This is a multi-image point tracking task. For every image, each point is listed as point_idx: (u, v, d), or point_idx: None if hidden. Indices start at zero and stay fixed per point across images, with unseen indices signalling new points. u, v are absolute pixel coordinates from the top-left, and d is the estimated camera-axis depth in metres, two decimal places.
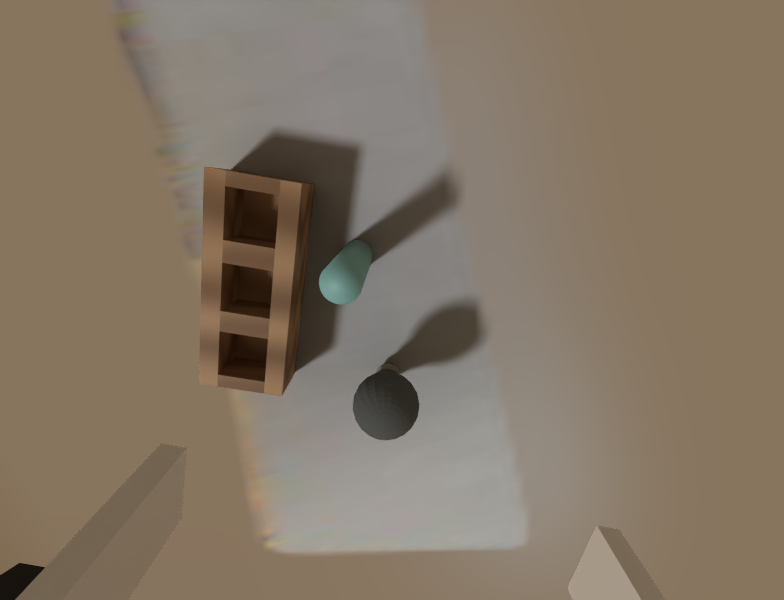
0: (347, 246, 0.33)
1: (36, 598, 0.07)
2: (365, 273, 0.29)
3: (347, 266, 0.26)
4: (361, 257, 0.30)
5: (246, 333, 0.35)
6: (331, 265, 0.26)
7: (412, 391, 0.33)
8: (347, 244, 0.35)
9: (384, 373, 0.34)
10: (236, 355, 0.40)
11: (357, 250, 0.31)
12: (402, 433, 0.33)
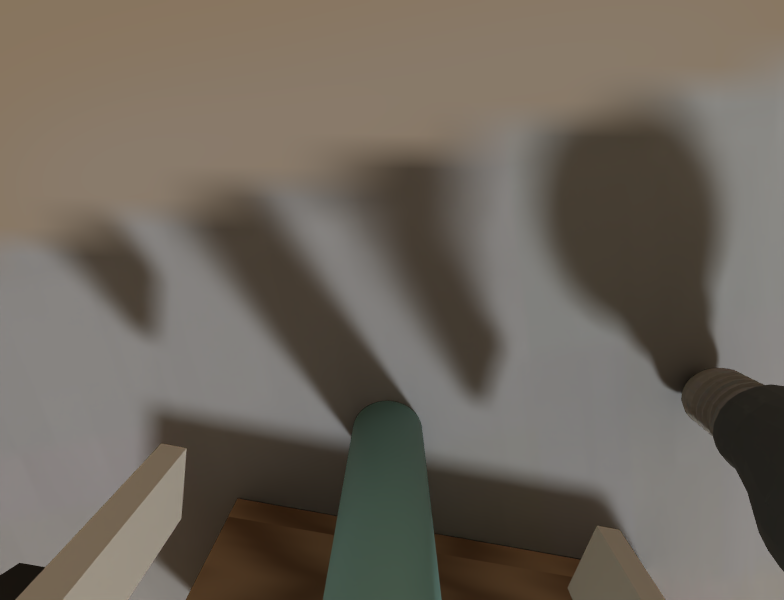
0: None
1: (36, 598, 0.07)
2: None
3: None
4: (338, 590, 0.09)
5: None
6: None
7: None
8: None
9: (781, 515, 0.09)
10: None
11: (334, 544, 0.10)
12: None
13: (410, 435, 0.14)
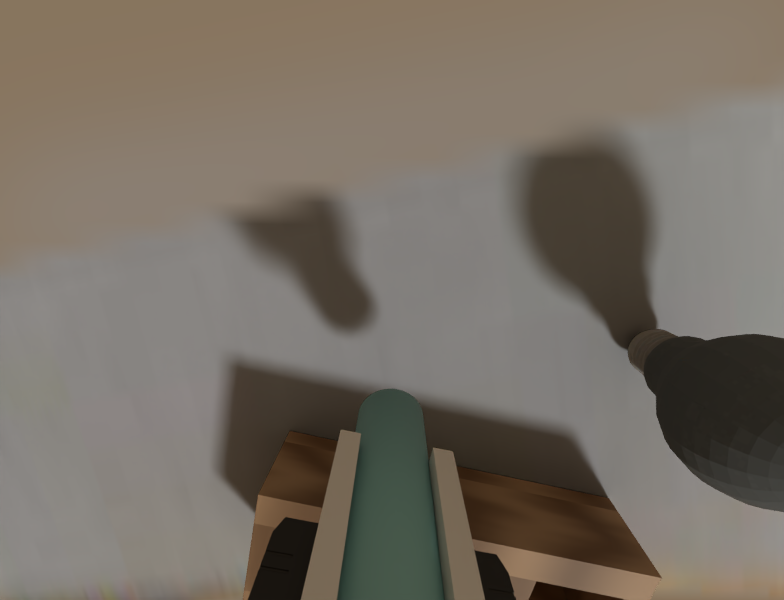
0: None
1: (328, 537, 0.09)
2: None
3: None
4: (347, 548, 0.10)
5: None
6: None
7: (744, 361, 0.12)
8: None
9: (666, 409, 0.14)
10: None
11: None
12: None
13: (412, 419, 0.15)
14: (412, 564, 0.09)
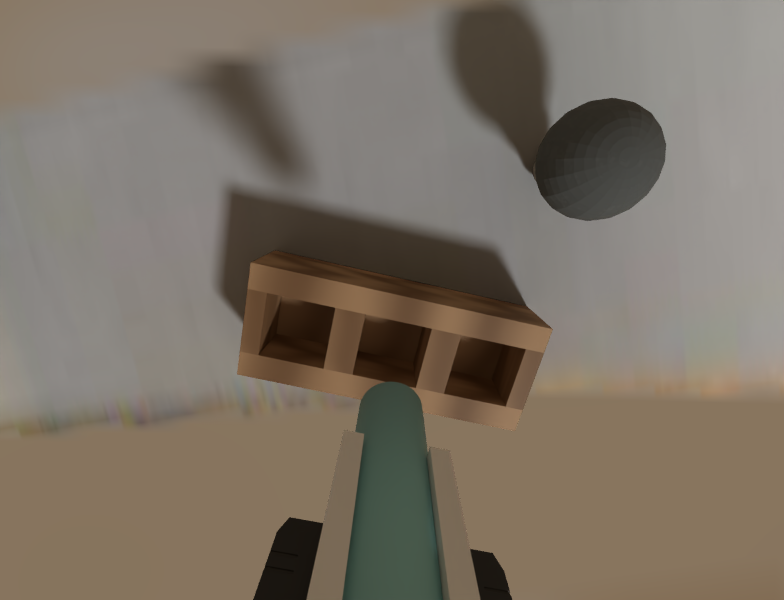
0: None
1: (333, 538, 0.09)
2: (384, 570, 0.09)
3: None
4: None
5: (450, 361, 0.25)
6: None
7: (577, 108, 0.19)
8: None
9: (536, 162, 0.20)
10: (490, 377, 0.30)
11: None
12: (657, 127, 0.17)
13: (411, 410, 0.16)
14: (411, 540, 0.10)
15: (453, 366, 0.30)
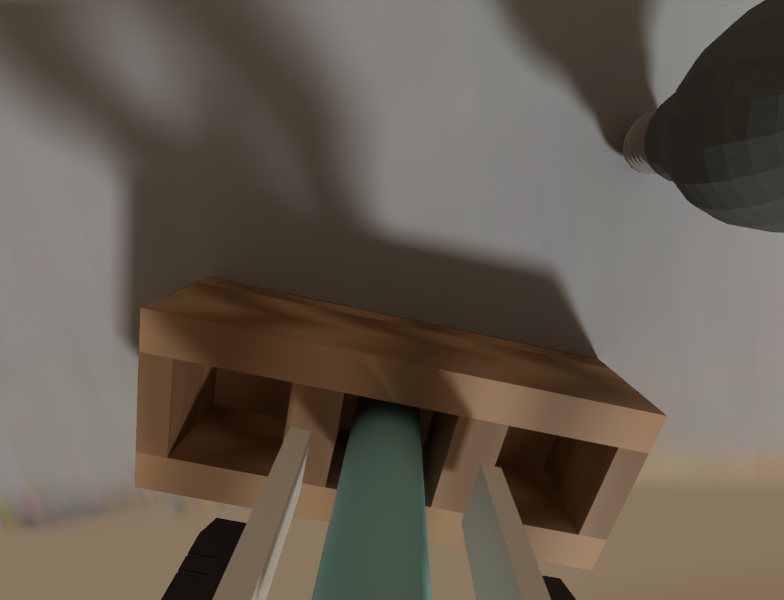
0: None
1: (253, 540, 0.09)
2: (372, 533, 0.10)
3: None
4: (344, 497, 0.11)
5: None
6: None
7: None
8: None
9: (679, 116, 0.10)
10: (541, 465, 0.20)
11: (341, 473, 0.13)
12: None
13: None
14: (398, 509, 0.11)
15: None
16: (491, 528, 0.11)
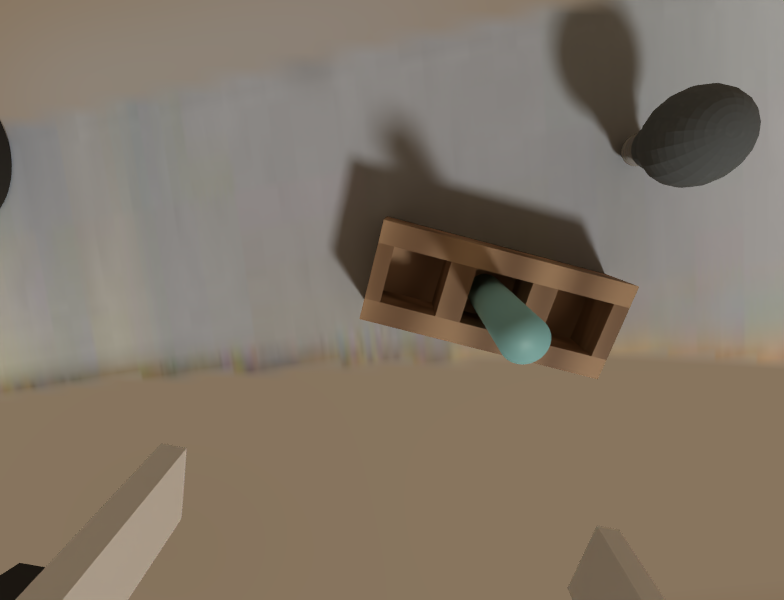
0: (474, 306, 0.29)
1: (36, 598, 0.07)
2: (513, 301, 0.24)
3: (505, 329, 0.21)
4: (492, 300, 0.25)
5: (546, 313, 0.29)
6: (500, 347, 0.22)
7: (684, 91, 0.23)
8: (471, 302, 0.32)
9: (642, 137, 0.24)
10: (568, 336, 0.34)
11: (481, 300, 0.27)
12: (755, 106, 0.21)
13: (500, 282, 0.31)
14: (519, 300, 0.25)
15: None
16: None
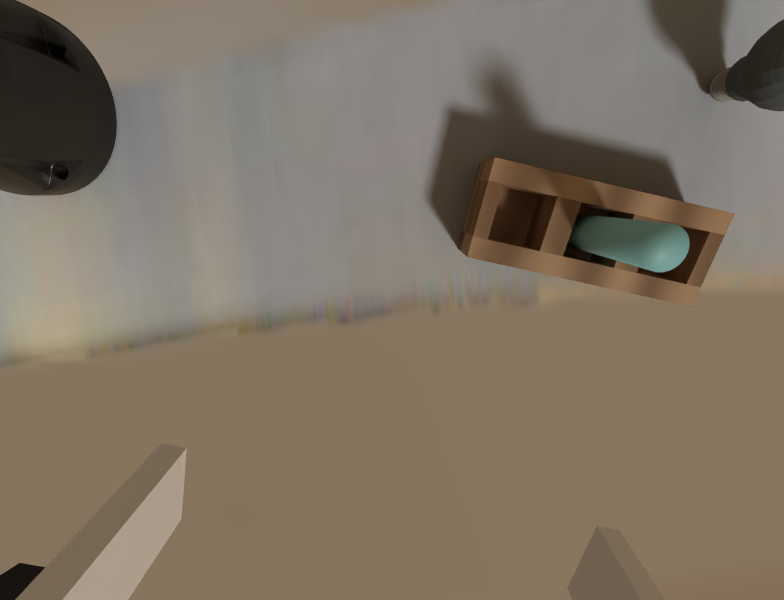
0: (577, 240, 0.31)
1: (36, 598, 0.07)
2: (638, 220, 0.25)
3: (647, 238, 0.23)
4: (610, 224, 0.27)
5: None
6: (641, 256, 0.23)
7: None
8: None
9: (750, 63, 0.26)
10: (654, 272, 0.36)
11: (593, 228, 0.29)
12: None
13: None
14: None
15: None
16: None
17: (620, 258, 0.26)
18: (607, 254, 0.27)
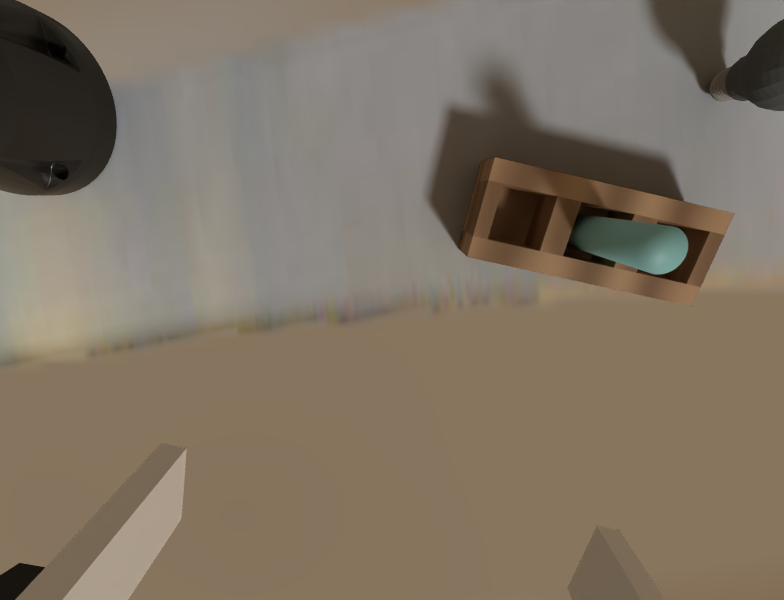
0: (577, 240, 0.31)
1: (36, 598, 0.07)
2: None
3: (645, 241, 0.23)
4: (609, 225, 0.27)
5: None
6: (639, 258, 0.23)
7: None
8: None
9: (750, 63, 0.26)
10: None
11: (593, 229, 0.29)
12: None
13: None
14: None
15: None
16: None
17: (619, 260, 0.26)
18: (606, 255, 0.27)
